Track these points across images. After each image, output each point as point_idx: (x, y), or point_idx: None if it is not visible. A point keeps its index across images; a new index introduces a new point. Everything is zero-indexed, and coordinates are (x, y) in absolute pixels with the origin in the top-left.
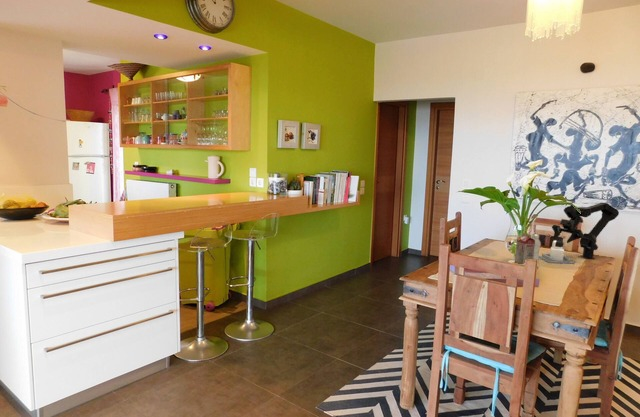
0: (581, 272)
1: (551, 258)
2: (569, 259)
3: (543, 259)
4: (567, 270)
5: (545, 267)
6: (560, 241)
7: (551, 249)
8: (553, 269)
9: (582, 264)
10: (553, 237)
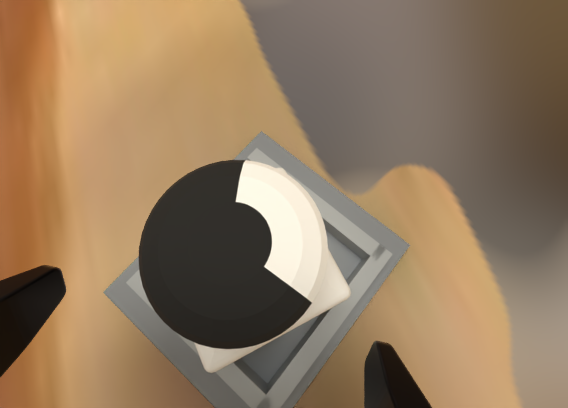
0: (24, 90)
1: (254, 152)
2: (135, 276)
3: (325, 182)
4: (105, 63)
5: (225, 19)
6: (185, 243)
7: (282, 168)
8: (175, 17)
9: (52, 356)
10: (409, 377)
